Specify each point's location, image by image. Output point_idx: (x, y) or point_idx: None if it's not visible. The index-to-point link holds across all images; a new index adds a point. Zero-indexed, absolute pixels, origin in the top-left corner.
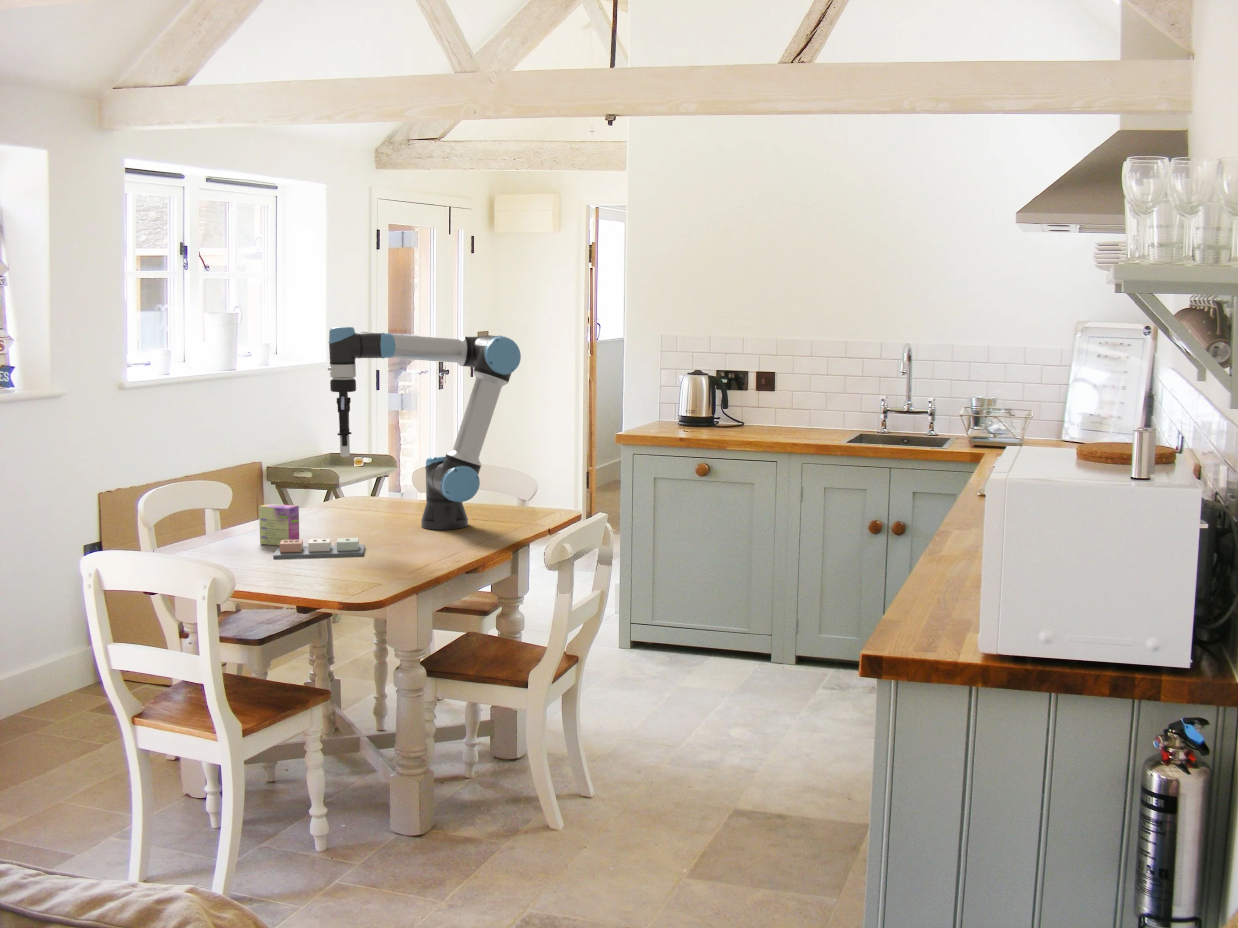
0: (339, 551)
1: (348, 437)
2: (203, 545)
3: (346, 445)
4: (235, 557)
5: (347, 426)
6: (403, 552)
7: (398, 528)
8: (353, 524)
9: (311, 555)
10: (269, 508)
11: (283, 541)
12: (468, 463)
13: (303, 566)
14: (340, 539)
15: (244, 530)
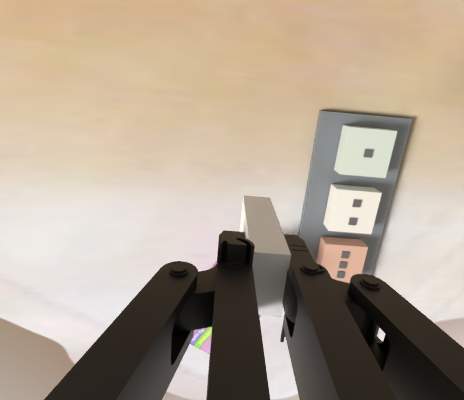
0: None
1: (286, 250)
2: None
3: (298, 239)
4: None
5: (431, 323)
6: (406, 18)
7: (84, 4)
8: (20, 124)
9: (384, 220)
10: None
11: (335, 277)
12: None
13: (454, 232)
14: (355, 168)
15: (79, 332)
